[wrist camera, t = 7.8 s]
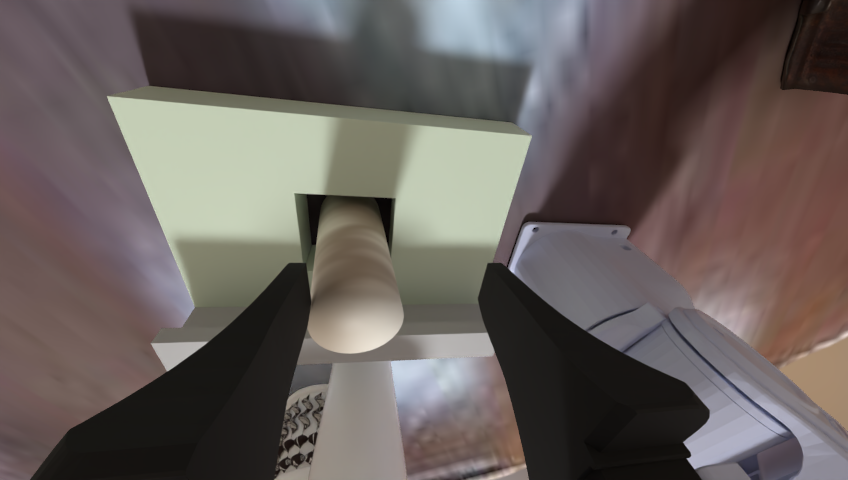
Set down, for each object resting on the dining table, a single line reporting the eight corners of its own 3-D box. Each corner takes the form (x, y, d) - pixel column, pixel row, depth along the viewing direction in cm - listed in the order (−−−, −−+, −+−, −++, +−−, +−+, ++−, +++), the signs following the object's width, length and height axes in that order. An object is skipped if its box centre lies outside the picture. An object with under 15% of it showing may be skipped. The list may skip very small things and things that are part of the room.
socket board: (511, 122, 19) (569, 161, 13) (467, 286, 27) (492, 356, 21) (148, 85, 16) (19, 117, 10) (217, 287, 23) (166, 371, 18)
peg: (380, 188, 21) (407, 282, 12) (378, 238, 23) (400, 348, 14) (318, 186, 20) (303, 288, 11) (321, 239, 22) (310, 358, 13)
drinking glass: (314, 335, 28) (268, 575, 16) (386, 316, 28) (396, 543, 15) (342, 374, 32) (322, 590, 19) (404, 358, 32) (424, 565, 19)
